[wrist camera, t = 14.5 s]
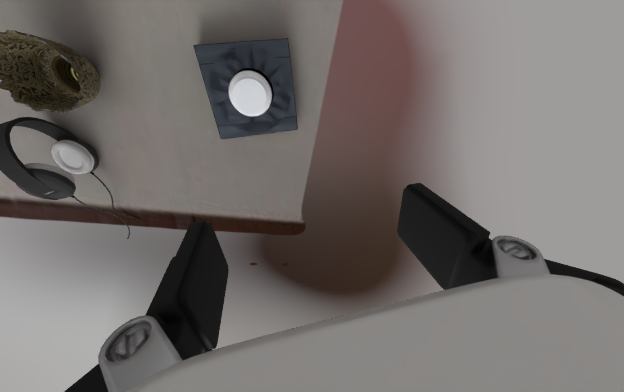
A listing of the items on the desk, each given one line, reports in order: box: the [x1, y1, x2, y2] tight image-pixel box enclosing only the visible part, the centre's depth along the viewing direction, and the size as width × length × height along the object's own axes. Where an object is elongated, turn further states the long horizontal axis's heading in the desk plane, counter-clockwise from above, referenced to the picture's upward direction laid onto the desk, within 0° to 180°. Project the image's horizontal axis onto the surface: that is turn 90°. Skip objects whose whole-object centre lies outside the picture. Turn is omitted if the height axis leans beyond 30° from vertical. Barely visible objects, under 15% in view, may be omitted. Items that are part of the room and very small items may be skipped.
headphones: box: [0, 117, 138, 239], centre depth 32 cm, size 10×4×20 cm
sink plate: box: [194, 38, 298, 139], centre depth 33 cm, size 12×12×3 cm
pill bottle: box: [229, 71, 272, 116], centre depth 30 cm, size 5×5×10 cm
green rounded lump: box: [0, 30, 100, 114], centre depth 26 cm, size 8×7×8 cm
